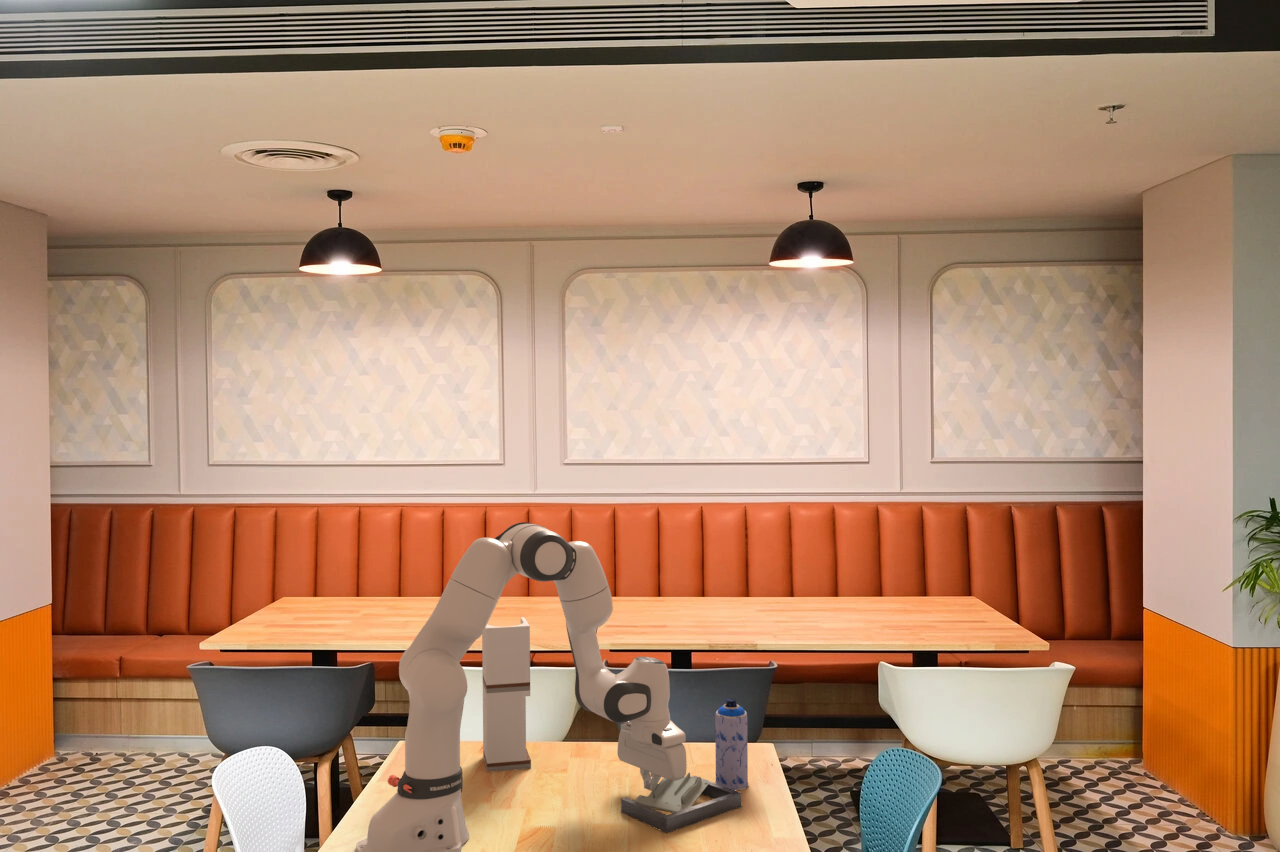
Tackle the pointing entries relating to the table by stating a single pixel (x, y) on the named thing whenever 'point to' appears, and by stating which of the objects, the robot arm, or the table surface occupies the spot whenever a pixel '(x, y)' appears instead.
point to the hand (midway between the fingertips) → (650, 789)
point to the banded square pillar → (505, 696)
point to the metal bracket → (674, 794)
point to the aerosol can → (731, 746)
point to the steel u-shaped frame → (720, 804)
